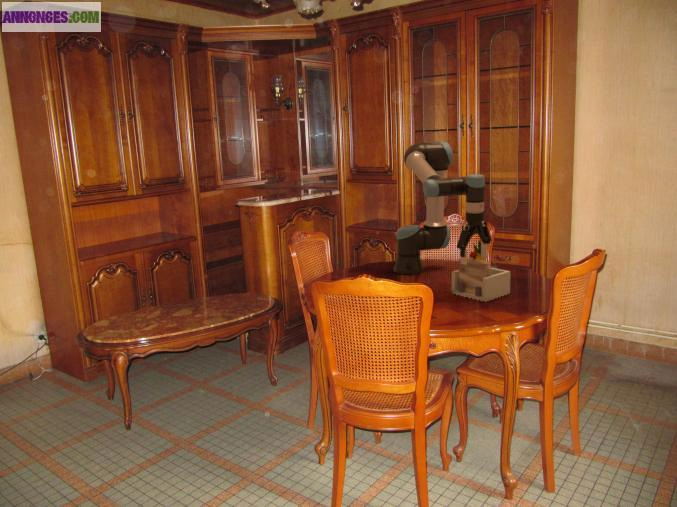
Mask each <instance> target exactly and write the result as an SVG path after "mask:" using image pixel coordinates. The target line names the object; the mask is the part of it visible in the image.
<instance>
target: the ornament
mask: <svg viewBox="0 0 677 507" xmlns="http://www.w3.org/2000/svg"><path fill="white" fill-rule="evenodd" d="M477 243H478V244H477V245H476V244H475V243H474V242H473V243H472V244H473V249H474V250H473V251H470V253H469V259H473V260H479V261H484V262H487V260H486V259H484V258H481V243H482V240H481V239H480V238H479V240H478V241H477Z"/></svg>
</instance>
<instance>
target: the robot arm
mask: <svg viewBox="0 0 677 507" xmlns="http://www.w3.org/2000/svg"><path fill="white" fill-rule="evenodd" d="M403 155H404V156H403V161H404V162H403V163H404V165H405V167H406V168H407V169H408V170H410V171H413V173H414V174H415V176H416V177H417V178H418V180H420V182H421V183H422V192H423V195H424V196H425V197H426V217H425V218H426V219H425V220H424V222H423V224H422V225H423V226H422V227H421V226H420V225H419V224H409V225H404V226H401V227H399V228H398V229H397V230H396V238H395V239H396V253H397V254H396V260H395V264H394V266H393V273H395V272H396V273H395V274H397V273H401V274H400V275H403V274H414V275H419V274H418V273H420V274H422V273H424V271H425V267H424V265H423V261H422V258H421V251H429V250H430V251H431V250H442V249H446V248H447V247H448V246H449V244H450V241H451V230H450V227H449V226H448V225H447V222H446V221H445V219H444V215H445V214H444V213H445V211H444V210H445V197H453V196H454V197H455V196H456V197H457V196H465V211H466V213H465V221H466V223H467V225H465V224H462V226H461V232H460V234H459V238H458V240H457V245H456V248H457V249H459V250H460V252H459V253H460V254H459V255H460V259H461V264H464V265H467V258H468V249H467V247H468V245H469V242H470V241H471V239H472V237H474V235H476V234H477V235H478V237H479V240H480V239H481V258H484V260H487V259H488V249H489V245H490V244H491V242H492V237H491V234H490V231H489V228H488V221H486V220H485V212H484V211H485V194H486V193H485V191H486V181H485V179H486V178H485V175H484V174H479V173H472V174H467V175H466V176H459V177H451V178H450V177H449V178H448V177H447V178H446V173H447V172H448V171H449V167H450V166H451V165H453V161H454V153H453V149H452V146H451V145H450V144H449V143H448V142H446V141H427V142H416V143H413V144H411V145H410V146H409V147H408V148H407V149H406V150H405V152H404V154H403ZM484 220H485V221H484Z"/></svg>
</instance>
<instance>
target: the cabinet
mask: <svg viewBox="0 0 677 507" xmlns="http://www.w3.org/2000/svg"><path fill="white" fill-rule="evenodd" d="M451 294H452V295H454V294H456V296H458V295H460V296H459V297H462V296H463V298H466V297H468V298H467V299H471V298H472V299H471V300H475V299H476V300H475V301H479V300H480V301H479V302H483V301H484V303H487V301H488V302H490V300H491V301H493V300H496V299H499V298H501V296H502V297H504V295H505V296H508V295H510V294H511V271H510V270H505V269H500V268H498V269H496V268H491V275H490V276H489V277H485V278H483V296H481V287H478V286H477V287H475V294H472V293H468V292H464V283H459V269H457V270H453V271H451ZM507 294H508V295H507ZM498 297H499V298H498ZM495 298H496V299H495Z"/></svg>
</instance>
